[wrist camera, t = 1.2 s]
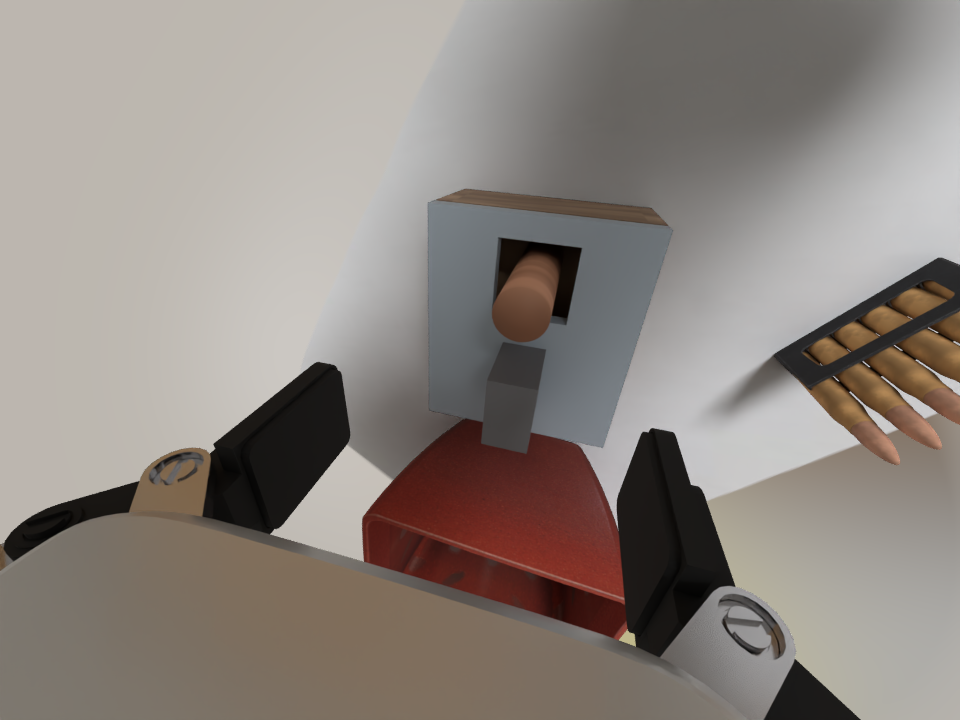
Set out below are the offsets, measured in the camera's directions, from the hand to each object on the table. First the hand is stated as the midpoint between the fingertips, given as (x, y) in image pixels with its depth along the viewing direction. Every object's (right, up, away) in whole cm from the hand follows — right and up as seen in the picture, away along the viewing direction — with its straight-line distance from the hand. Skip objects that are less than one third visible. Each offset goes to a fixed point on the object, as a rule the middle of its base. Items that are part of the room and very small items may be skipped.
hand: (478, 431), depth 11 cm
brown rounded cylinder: (+5, +11, +18) cm, 21 cm away
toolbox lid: (+3, +4, +15) cm, 16 cm away
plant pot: (+4, -10, +32) cm, 34 cm away
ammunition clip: (+28, +5, +16) cm, 32 cm away
